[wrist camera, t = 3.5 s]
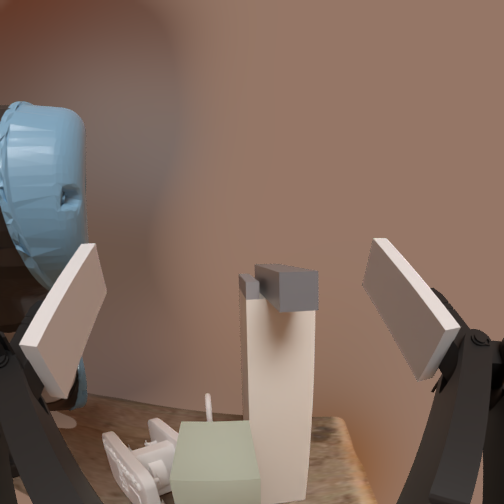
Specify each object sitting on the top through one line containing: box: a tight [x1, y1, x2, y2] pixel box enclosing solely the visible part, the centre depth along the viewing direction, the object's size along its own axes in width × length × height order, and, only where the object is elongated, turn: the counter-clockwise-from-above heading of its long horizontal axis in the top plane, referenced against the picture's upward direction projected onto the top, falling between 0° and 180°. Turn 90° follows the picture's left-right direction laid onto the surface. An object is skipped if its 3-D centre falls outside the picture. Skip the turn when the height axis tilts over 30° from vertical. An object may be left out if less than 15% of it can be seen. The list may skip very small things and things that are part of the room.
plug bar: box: [255, 264, 318, 312], centre depth 38 cm, size 4×20×4 cm, turn 6°
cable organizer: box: [102, 418, 179, 504], centre depth 36 cm, size 15×11×12 cm
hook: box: [205, 393, 213, 422], centre depth 53 cm, size 6×5×12 cm
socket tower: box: [239, 274, 315, 504], centre depth 43 cm, size 8×14×34 cm, turn 6°
